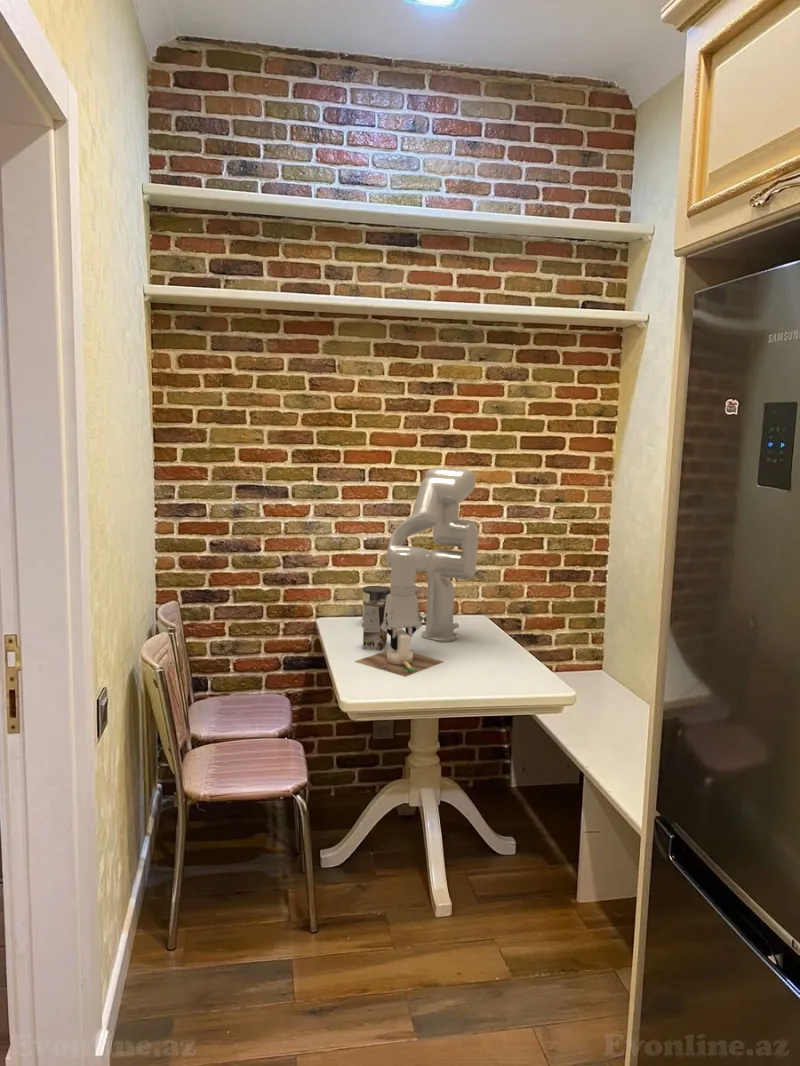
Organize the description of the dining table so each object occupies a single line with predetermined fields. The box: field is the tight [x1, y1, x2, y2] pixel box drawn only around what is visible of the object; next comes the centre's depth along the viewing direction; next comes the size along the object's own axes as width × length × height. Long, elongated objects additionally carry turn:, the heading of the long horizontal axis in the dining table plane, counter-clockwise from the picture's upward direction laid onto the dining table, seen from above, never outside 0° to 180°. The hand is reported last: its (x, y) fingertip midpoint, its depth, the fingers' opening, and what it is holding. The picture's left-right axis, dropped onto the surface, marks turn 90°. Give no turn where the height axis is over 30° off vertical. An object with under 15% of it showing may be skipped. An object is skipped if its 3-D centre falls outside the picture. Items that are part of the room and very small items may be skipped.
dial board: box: [354, 650, 445, 678], centre depth 234 cm, size 20×20×2 cm
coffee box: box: [362, 600, 388, 652], centre depth 248 cm, size 9×6×16 cm
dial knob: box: [386, 628, 414, 669], centre depth 231 cm, size 16×8×9 cm, turn 16°
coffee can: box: [361, 585, 391, 628], centre depth 279 cm, size 10×10×14 cm
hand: (400, 648), depth 233 cm, fingers closed on dial knob, 3 cm apart
